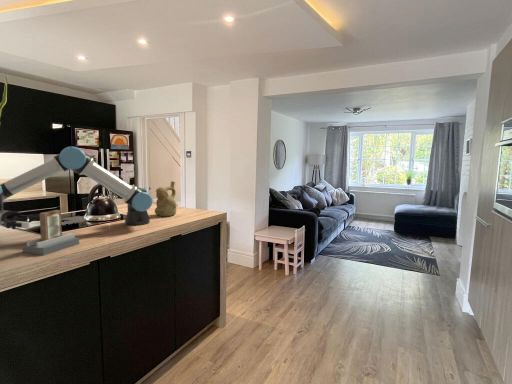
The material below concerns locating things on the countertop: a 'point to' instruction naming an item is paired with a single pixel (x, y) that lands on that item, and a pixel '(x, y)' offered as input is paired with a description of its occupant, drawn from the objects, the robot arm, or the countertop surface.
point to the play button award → (72, 220)
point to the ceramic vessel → (166, 201)
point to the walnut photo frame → (50, 225)
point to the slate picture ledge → (50, 244)
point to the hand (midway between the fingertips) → (43, 222)
